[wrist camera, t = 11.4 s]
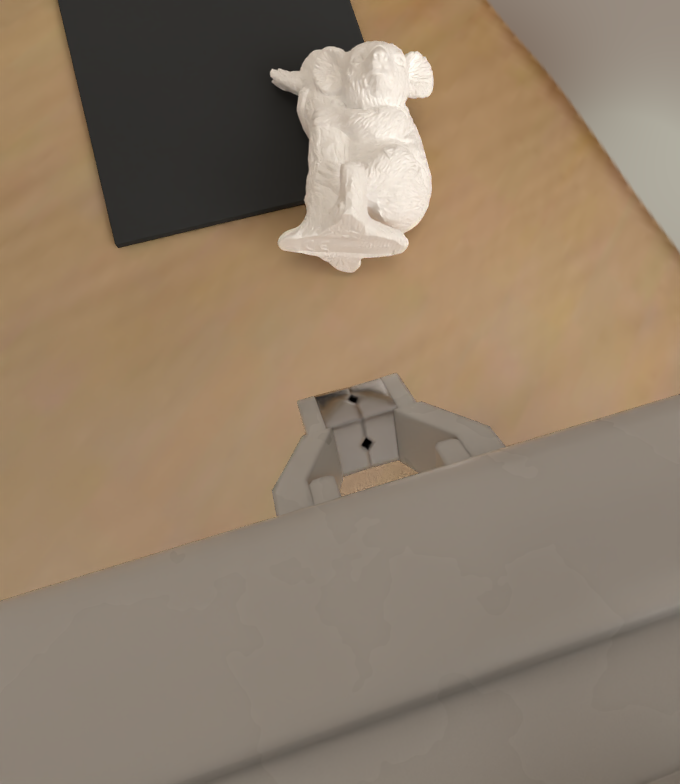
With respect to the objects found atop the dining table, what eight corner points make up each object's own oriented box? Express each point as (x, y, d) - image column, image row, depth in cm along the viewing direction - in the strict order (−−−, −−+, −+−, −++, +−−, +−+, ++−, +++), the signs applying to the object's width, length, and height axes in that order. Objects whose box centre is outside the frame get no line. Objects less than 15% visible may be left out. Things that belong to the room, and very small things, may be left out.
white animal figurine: (234, 227, 21) (244, 21, 25) (299, 298, 27) (300, 124, 31) (434, 174, 19) (412, -47, 22) (458, 266, 25) (437, 80, 28)
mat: (409, 179, 28) (410, 174, 28) (117, 248, 26) (115, 244, 26) (310, -108, 31) (310, -115, 31) (44, -63, 29) (41, -70, 29)
